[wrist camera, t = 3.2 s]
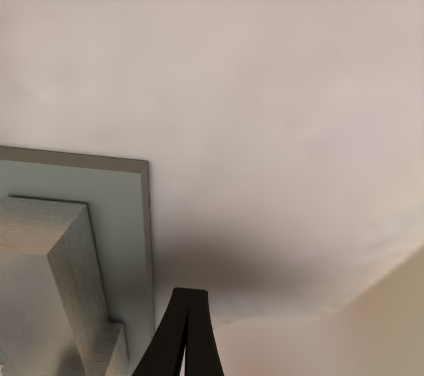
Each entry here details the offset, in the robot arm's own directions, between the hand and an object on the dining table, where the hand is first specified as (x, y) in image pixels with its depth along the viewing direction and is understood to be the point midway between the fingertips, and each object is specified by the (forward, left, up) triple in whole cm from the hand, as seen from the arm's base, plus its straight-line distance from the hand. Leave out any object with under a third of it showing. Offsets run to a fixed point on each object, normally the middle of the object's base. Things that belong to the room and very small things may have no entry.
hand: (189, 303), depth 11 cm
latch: (-2, +6, -1) cm, 6 cm away
